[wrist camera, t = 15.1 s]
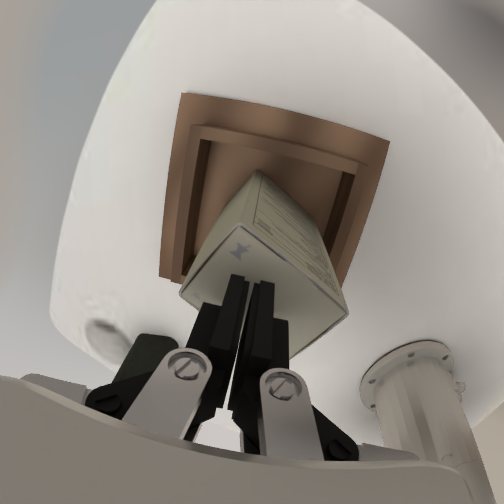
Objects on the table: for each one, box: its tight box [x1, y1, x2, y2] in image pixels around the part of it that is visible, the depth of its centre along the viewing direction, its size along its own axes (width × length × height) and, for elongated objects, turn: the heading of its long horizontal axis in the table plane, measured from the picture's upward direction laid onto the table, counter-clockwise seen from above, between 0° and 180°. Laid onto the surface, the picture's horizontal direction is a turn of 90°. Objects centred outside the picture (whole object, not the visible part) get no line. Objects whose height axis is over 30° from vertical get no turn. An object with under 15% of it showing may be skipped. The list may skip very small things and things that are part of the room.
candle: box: [112, 334, 178, 383], centre depth 21 cm, size 5×5×25 cm
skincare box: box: [179, 170, 349, 360], centre depth 17 cm, size 6×4×12 cm
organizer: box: [159, 93, 390, 288], centre depth 22 cm, size 16×16×4 cm
